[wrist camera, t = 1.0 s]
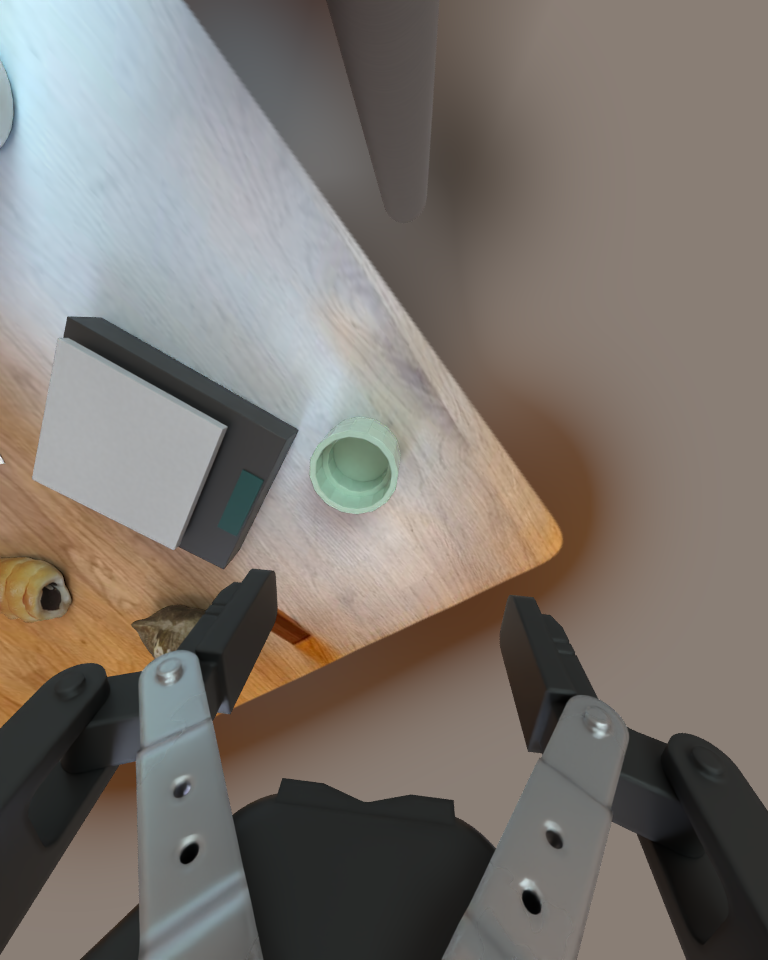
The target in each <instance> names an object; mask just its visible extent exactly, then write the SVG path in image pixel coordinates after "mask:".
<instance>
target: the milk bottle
mask: <svg viewBox="0 0 768 960" xmlns="http://www.w3.org/2000/svg"><path fill="white" fill-rule="evenodd" d="M12 120H13V98H12V93H11V87H10V83H9V80H8V77H7V74H6V71H5V68H4V66H3V64H2V62H1V60H0V148H1V147H2V146H3V144H4V143H5V141H6V140H7V138H8V136H9V133H10V130H11V128H12Z"/></svg>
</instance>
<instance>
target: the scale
mask: <svg viewBox="0 0 768 960" xmlns="http://www.w3.org/2000/svg"><path fill="white" fill-rule="evenodd" d="M297 432H298V430H297V429H296V428H294V427H292V426H290V425H289V424H287V423H285V422H283V421H282V420H280V419H278V418H276V417H275V416H273V415H271V414H269V413H268V412H266V411H264V410H262V409H261V408H259V407H257V406H255V405H254V404H252V403H250V402H248V401H247V400H245V399H243V398H241V397H240V396H238V395H236V394H234V393H233V392H231V391H229V390H227V389H226V388H224V387H222V386H220V385H219V384H217V383H215V382H213V381H212V380H210V379H208V378H206V377H205V376H203V375H201V374H199V373H198V372H196V371H194V370H192V369H191V368H189V367H187V366H185V365H183V364H182V363H180V362H178V361H176V360H175V359H173V358H171V357H169V356H168V355H166V354H164V353H162V352H161V351H159V350H157V349H155V348H154V347H152V346H150V345H148V344H147V343H145V342H143V341H141V340H140V339H138V338H136V337H134V336H133V335H131V334H129V333H127V332H126V331H124V330H122V329H120V328H119V327H117V326H115V325H113V324H112V323H110V322H108V321H106V320H105V319H103V318H96V317H67V321H66V327H65V332H64V337H63V338H58V341H57V346H56V352H55V357H54V362H53V368H52V373H51V379H50V384H49V390H48V395H47V400H46V406H45V411H44V417H43V422H42V428H41V433H40V438H39V444H38V449H37V455H36V460H35V465H34V471H33V476H32V479H33V480H35V481H37V482H39V483H41V484H43V485H45V486H47V487H49V488H51V489H53V490H55V491H57V492H59V493H61V494H63V495H65V496H66V497H68V498H70V499H72V500H74V501H76V502H78V503H80V504H82V505H84V506H86V507H88V508H90V509H92V510H94V511H96V512H98V513H100V514H102V515H104V516H106V517H108V518H110V519H112V520H114V521H116V522H118V523H120V524H122V525H124V526H126V527H128V528H130V529H132V530H134V531H136V532H138V533H140V534H142V535H144V536H146V537H148V538H150V539H152V540H154V541H156V542H158V543H160V544H162V545H164V546H166V547H168V548H170V549H172V550H175V549H176V548H177V547H180V548H182V549H184V550H186V551H188V552H190V553H192V554H194V555H196V556H198V557H200V558H202V559H204V560H206V561H208V562H210V563H212V564H214V565H216V566H218V567H220V568H222V569H224V568H225V567H226V566H227V565H228V563H229V562H230V561H231V560H232V559H233V557H234V556H235V555H236V554H237V552H238V551H239V549H240V547H241V545H242V543H243V541H244V539H245V537H246V535H247V533H248V531H249V529H250V527H251V525H252V523H253V521H254V519H255V517H256V515H257V513H258V511H259V509H260V507H261V505H262V503H263V501H264V499H265V497H266V495H267V493H268V491H269V489H270V487H271V485H272V483H273V481H274V478H275V476H276V474H277V472H278V470H279V468H280V466H281V464H282V462H283V460H284V458H285V456H286V454H287V452H288V450H289V448H290V446H291V444H292V442H293V440H294V438H295V436H296V434H297Z"/></svg>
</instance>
